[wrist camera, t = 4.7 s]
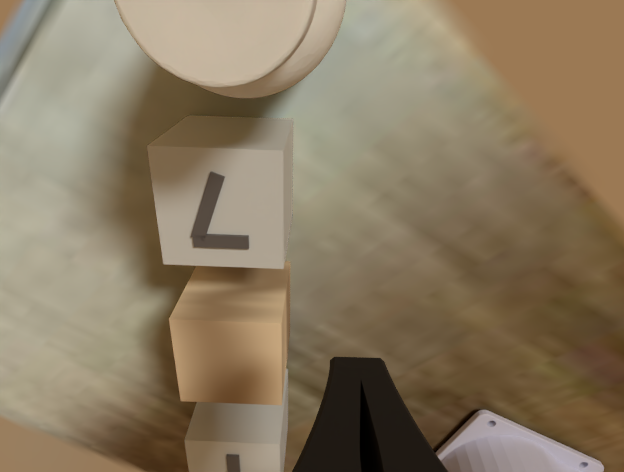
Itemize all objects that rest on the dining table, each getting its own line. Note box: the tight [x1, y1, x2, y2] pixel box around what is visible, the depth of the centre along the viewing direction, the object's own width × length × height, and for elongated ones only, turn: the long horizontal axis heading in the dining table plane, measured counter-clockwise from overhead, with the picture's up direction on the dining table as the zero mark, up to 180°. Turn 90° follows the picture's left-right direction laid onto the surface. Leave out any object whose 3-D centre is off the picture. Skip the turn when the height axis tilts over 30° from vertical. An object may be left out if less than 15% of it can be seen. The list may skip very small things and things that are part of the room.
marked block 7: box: [147, 115, 293, 269], centre depth 18 cm, size 4×4×5 cm
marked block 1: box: [184, 369, 288, 472], centre depth 24 cm, size 4×4×5 cm
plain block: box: [169, 261, 290, 405], centre depth 21 cm, size 4×4×5 cm
